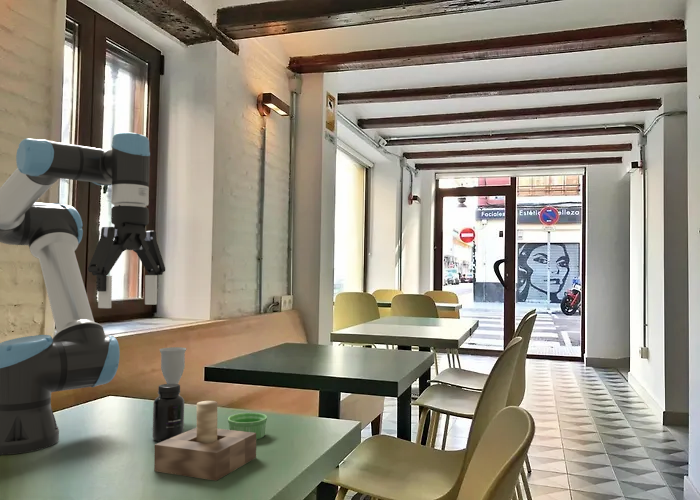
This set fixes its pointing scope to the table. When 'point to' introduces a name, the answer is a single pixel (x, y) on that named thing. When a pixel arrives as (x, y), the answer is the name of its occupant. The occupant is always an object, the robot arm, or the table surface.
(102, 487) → the table surface
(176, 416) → the supplement bottle
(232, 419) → the ramekin
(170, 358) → the chalice
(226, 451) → the socket block
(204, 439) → the peg
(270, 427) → the table surface
